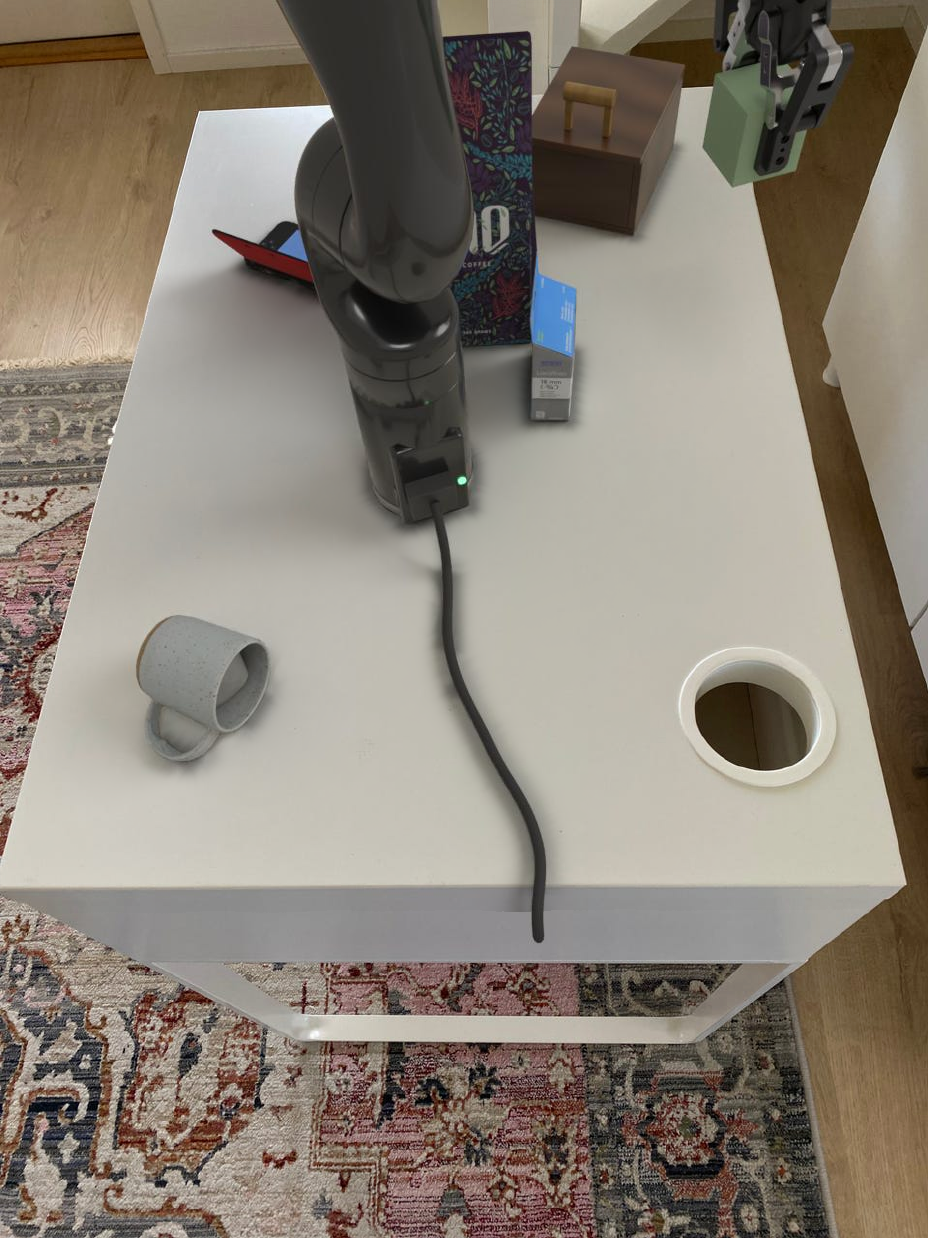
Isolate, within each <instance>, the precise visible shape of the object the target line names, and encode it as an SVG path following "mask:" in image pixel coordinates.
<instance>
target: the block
mask: <svg viewBox="0 0 928 1238" xmlns="http://www.w3.org/2000/svg"><path fill="white" fill-rule="evenodd" d="M760 66H761V63H757V64H753V65H749V66H745V67H741V68H737V69H733V70H729V71H725V72H723V71H721V72H718V73H714V80H713V85H712V90H711V95H710V96H711V97H710V100H709V101H710V102H709V106H708V107H709V108H708V113H707V120H706V124H705V130H704V136H703V141H702V149H703V151H704V152H705V153H706V155H707V156H708V157H709V159H710V160H711V162H712V163H713V164H714V165H715V166H716V168H717V170H718V171H719V172H720V173H721V175H722V176H723V178H724V179H725V181H726V182H727V183H728V184H729V186H730V187H731V188H736V187H740V186H744V185H747V184H751V183H754V182H755V183H756V182H758V181H762V180H767V179H770V178H774V177H778V176H782V175H785V174H790V173H792V172H793V173H794V172H796V170H797V168H798V164H799V160H800V156H801V153H802V149H803V146H804V142H805V139H806V135H807V132H808V130H804V131H800V132H796V134H795V138H794V142H793V146H792V149H791V153H790V155H789V156H790V157H789V161H788V164H787V165H786V167H785V168H783V169H782V170H781V171H779V172H776V173H772V174H768V175H764V176H759V175H758V174H757V173H756V172H755V170H754V168H753V167H754V162H755V158H756V154H757V149H758V145H759V141H760V136H761V132H762V128H763V123H765V113H766V90H765V89H763V88H762V87H761V86H760ZM791 69H792V67H791V66H790V64H786V65H782V66H777V73H779V72H783V71H787V70H791ZM792 92H793V87H789V88H786V89H785V90H784V91H783V93H782V106H783V105H787V103H788V101H789V99H790V96H791V94H792ZM810 107H811V106H810Z"/></svg>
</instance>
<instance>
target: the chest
mask: <svg viewBox="0 0 928 1238" xmlns="http://www.w3.org/2000/svg"><path fill="white" fill-rule="evenodd" d="M684 75H685V72H684V73H683V75H682V77H681V79H680V81H679V84H678V86H677V88H676V90H675V92H674V94H673V96H672V98H671V101H670V103H669V105H668V107H667V109H666V111H665V113H664V115H663V118H662V120H661V122H660V124H659V126H658V128H657V130H656V132H655V135H654V137H653V139H652V141H651V143H650V145H649V147H648V149H647V152H646V154H645V156H644V158H643V160H642V162H641V164H640V165H636V164H631V163H625V162H620V161H615V160H610V159H604V158H599V157H594V156H589V155H583V154H578V153H573V152H568V151H562V150H557V149H552V148H546V147H541V146H536V145H532V181H533V196H534V211H535V217H540V218H541V217H542V218H546V219H551V220H555V221H560V222H564V223H569V224H574V225H580V226H583V227H588V228H594V229H599V230H604V231H607V232H613V233H617V234H622V235H628V236H632V237H634V236H635V234H636V232H637V230H638V227H639V226H640V223H641V220H642V218H643V216H644V214H645V213H646V209H647V208H648V206H649V203H650V201H651V198H652V196H653V194H654V191H655V190H656V188H657V185H658V183H659V180H660V178H661V176H662V175H663V172H664V170H665V167H666V165H667V163H668V160H669V159H670V156H671V154H672V152H673V150H674V145H675V138H676V137H675V136H676V130H677V125H678V124H677V123H678V118H679V117H678V116H679V111H680V110H679V109H680V105H681V104H680V102H681V96H682V90H683V83H684Z"/></svg>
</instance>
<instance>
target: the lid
mask: <svg viewBox="0 0 928 1238" xmlns="http://www.w3.org/2000/svg"><path fill="white" fill-rule="evenodd" d="M685 70H686V65H685V64H684V63H677V62H673V61H672V62H671V61H665V60H660V59H655V58H654V59H652V58H647V57H640V56H636V55H635V56H634V55H629V54H623V53H617V52H611V51H603V50H599V49H593V48H592V49H591V48H587V47H586V48H585V47H581V46H580V47H579V46H574V45H571V47H570V48H569V50H568V51H567V53H566V56H565V57H564V59H563V60H562V62H561V64H560V66H559V67H558V69H557V71H556V73H555V75H554V76H553V78H552V79H551V82H550V83H549V84H548V87H547V88H546V90H545V91H544V94H543V95H542V97H541V98H540V100H539V102H538V103H537V105H536V106H535V107H536V108H535V109H534V111H533V112H532V145H536V146H541V147H546V148H552V149H557V150H562V151H568V152H573V153H578V154H583V155H589V156H594V157H599V158H604V159H610V160H615V161H620V162H625V163H631V164H636V165H640V164H641V162H642V160H643V158H644V156H645V154H646V152H647V149H648V147H649V145H650V143H651V141H652V139H653V137H654V135H655V132H656V130H657V128H658V126H659V124H660V122H661V120H662V118H663V115H664V113H665V111H666V109H667V107H668V105H669V103H670V101H671V98H672V96H673V94H674V92H675V90H676V88H677V86H678V84H679V81H680V79H681V77H682V75H683V73H684V74H685Z"/></svg>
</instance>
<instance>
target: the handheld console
mask: <svg viewBox="0 0 928 1238" xmlns="http://www.w3.org/2000/svg"><path fill="white" fill-rule="evenodd" d="M211 233H212V235H213V236H214V237H216V238H217V239H218V240H220V241H221V242H223V243H224V244H225V245H227V246H228V247H229V248H231V249H232V250H233V251H234V252H236V253H238V254H239V255H240V256H241V257H243V260H244V263H245V265H246V267H248V268H250V269H251V270H252V269H253V270H255V271H259V272H262V273H265V274H268V275H271V276H273V277H277V278H279V279H282V280H287V281H293V282H296V283H298V284H299V285H300V286H302V287H304V288H306V289H308V290H312V291H314V292H317V291H316V287H315V284H314V281H313V277H312V274H311V271H310V267H309V264H308V260H307V257H306V253H305V250H304V247H303V243H302V239H301V236H300V232H299V227H298V223H296V222H293V221H290V220H282V221H280V222H279V223H277V224H276V225H275V226H274V227H273V228H272V229H271V231H269V232H268V233H267V235H266V236H265V237H264V238H263V239H262V240H261V241H260V242H259V243H256V242H254V241H250V240H248V239H245V238H242V237H240V236H237V235H234V234H231V233H228V232H225V231H222V230H219V229H217V228H213V229H211Z"/></svg>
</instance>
